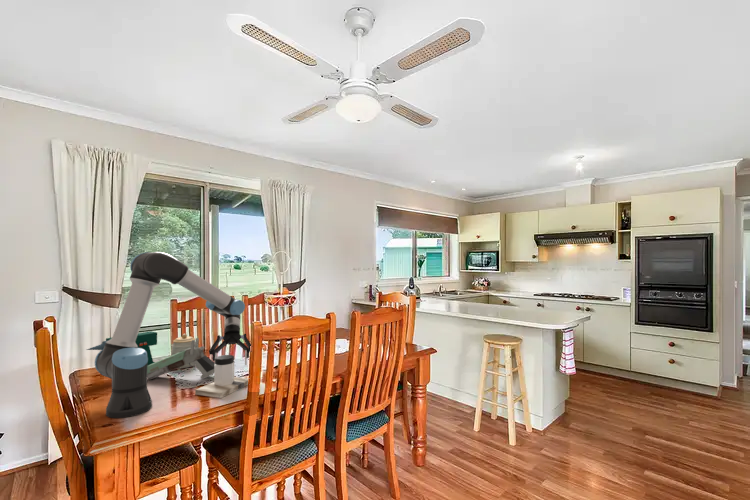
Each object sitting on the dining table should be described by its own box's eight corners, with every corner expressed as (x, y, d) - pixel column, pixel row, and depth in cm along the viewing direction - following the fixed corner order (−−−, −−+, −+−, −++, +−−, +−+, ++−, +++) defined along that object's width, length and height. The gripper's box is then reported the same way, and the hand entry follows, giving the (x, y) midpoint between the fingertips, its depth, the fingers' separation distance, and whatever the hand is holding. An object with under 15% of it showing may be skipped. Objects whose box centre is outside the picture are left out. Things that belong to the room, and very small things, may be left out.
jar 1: (172, 363, 212) (173, 332, 212) (197, 361, 216) (198, 330, 217) (168, 369, 200) (169, 336, 200) (195, 367, 204) (195, 335, 204)
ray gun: (215, 374, 183) (200, 336, 183) (154, 399, 182) (138, 362, 182) (221, 369, 190) (206, 333, 191) (161, 394, 189) (147, 358, 189)
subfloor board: (220, 398, 159) (220, 393, 159) (195, 394, 163) (195, 389, 163) (250, 383, 178) (250, 379, 178) (227, 380, 182) (227, 376, 182)
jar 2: (238, 381, 174) (238, 355, 174) (225, 387, 167) (225, 360, 167) (223, 379, 178) (223, 354, 178) (210, 384, 170) (210, 358, 170)
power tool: (88, 386, 173) (89, 343, 174) (81, 384, 177) (82, 342, 177) (158, 369, 200) (158, 332, 201) (151, 367, 204) (151, 331, 204)
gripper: (257, 330, 199) (257, 366, 184) (206, 333, 191) (203, 371, 177) (257, 322, 194) (258, 358, 180) (205, 325, 186) (201, 363, 172)
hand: (230, 365), depth 178 cm, fingers open, 13 cm apart
